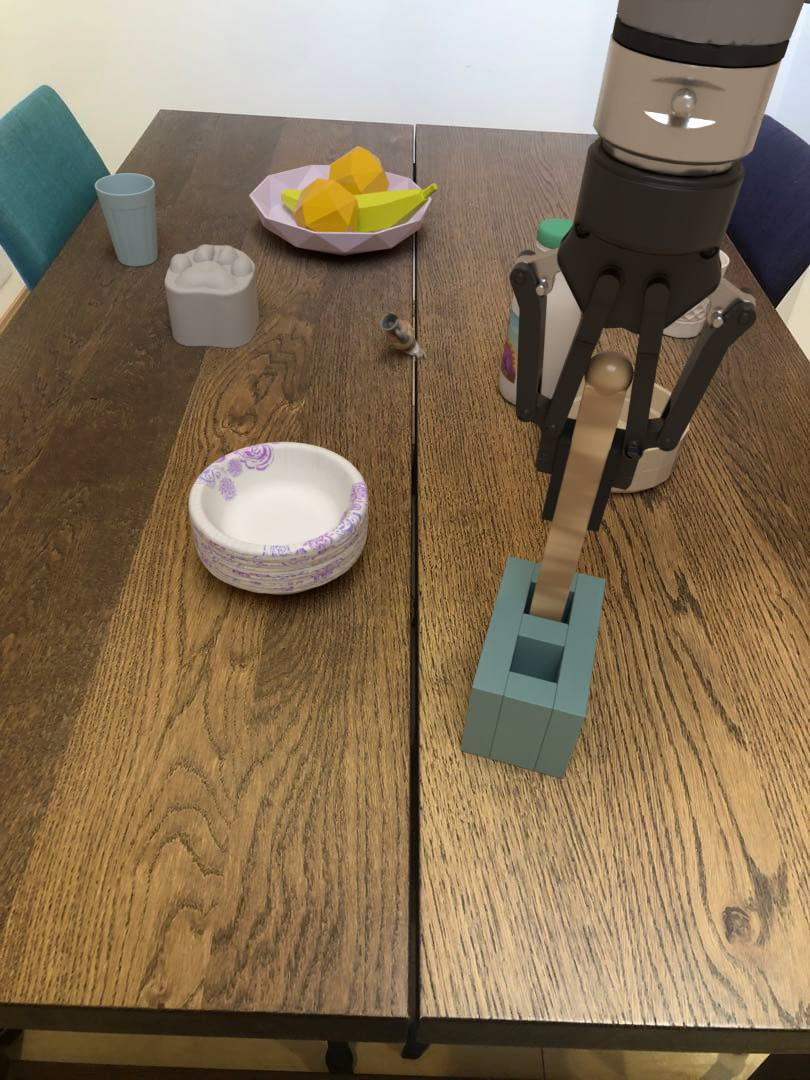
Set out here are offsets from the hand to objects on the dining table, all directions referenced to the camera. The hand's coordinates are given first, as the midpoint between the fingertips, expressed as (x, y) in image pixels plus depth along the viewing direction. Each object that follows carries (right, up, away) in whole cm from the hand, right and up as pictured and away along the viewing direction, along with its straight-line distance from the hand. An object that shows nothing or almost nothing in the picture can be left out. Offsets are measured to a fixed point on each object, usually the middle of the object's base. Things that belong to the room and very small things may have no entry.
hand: (572, 512), depth 55 cm
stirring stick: (-1, -8, +8) cm, 12 cm away
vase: (-12, +21, +46) cm, 52 cm away
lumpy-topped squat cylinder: (-35, +26, +50) cm, 66 cm away
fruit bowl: (-20, +44, +70) cm, 85 cm away
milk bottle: (+4, +15, +41) cm, 44 cm away
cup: (-49, +38, +61) cm, 87 cm away
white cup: (+25, +27, +55) cm, 66 cm away
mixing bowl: (+11, +7, +33) cm, 36 cm away
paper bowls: (-22, -4, +20) cm, 30 cm away
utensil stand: (-2, -14, +10) cm, 17 cm away
